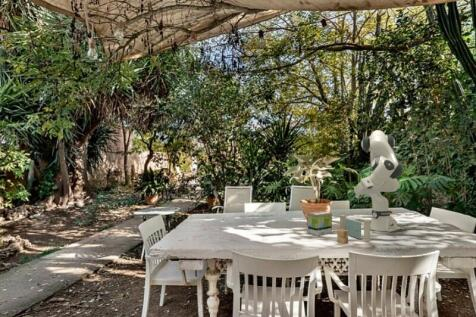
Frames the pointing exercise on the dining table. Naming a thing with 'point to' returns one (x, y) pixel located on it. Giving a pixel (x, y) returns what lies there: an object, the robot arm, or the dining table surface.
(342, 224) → the hinge wall
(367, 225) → the jamb
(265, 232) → the dining table surface
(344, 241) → the doorstop
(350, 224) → the door
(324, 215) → the tea box
